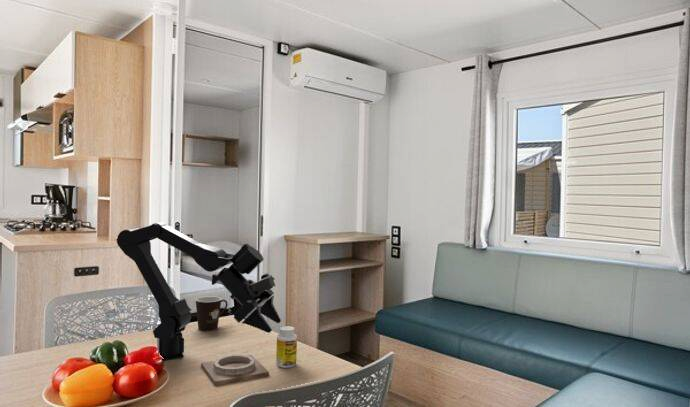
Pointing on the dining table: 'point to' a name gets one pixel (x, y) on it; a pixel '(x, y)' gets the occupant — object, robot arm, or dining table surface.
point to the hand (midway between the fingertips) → (275, 326)
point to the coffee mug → (208, 312)
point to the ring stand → (233, 369)
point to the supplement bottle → (286, 347)
